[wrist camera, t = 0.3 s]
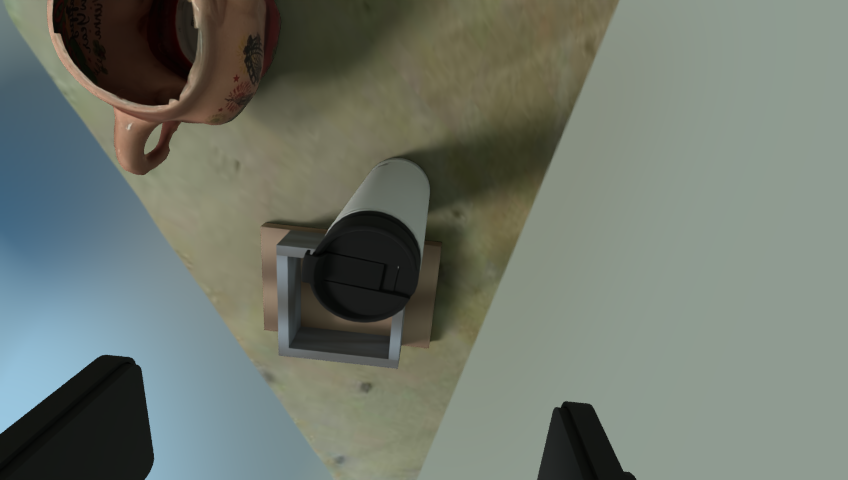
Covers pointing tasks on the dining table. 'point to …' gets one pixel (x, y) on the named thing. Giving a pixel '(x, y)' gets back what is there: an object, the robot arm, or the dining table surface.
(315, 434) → the dining table surface
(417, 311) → the jig cradle
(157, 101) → the pink sculpted mug
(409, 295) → the travel mug
